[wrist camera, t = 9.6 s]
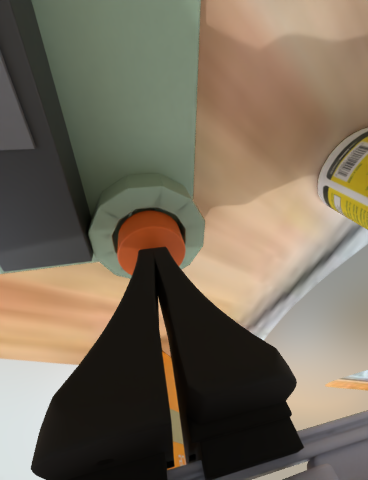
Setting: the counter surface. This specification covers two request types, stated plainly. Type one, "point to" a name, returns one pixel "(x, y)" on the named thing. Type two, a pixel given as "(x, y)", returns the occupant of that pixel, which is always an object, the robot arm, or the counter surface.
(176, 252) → the power button
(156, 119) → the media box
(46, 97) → the remote
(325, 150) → the counter surface
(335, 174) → the pill bottle
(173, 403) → the orange juice
